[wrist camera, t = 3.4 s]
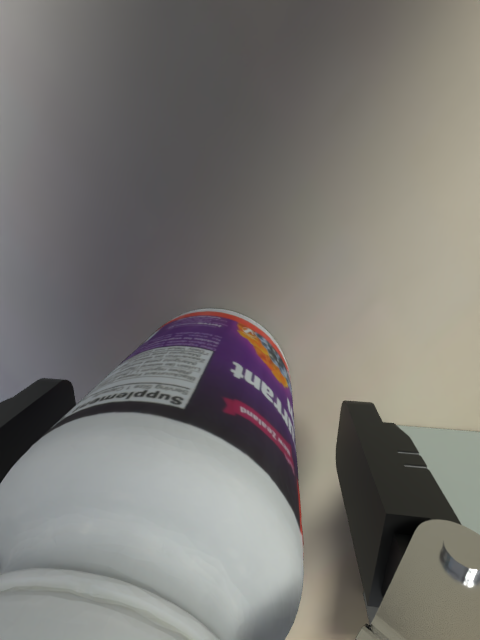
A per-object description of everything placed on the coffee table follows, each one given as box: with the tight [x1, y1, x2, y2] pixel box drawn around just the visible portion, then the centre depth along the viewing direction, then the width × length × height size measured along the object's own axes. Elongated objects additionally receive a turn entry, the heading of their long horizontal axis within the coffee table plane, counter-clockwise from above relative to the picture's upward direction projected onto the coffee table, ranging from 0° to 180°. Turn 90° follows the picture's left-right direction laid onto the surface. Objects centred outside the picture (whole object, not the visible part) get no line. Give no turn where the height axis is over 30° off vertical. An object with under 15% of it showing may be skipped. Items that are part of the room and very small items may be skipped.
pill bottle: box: [0, 308, 304, 640], centre depth 7 cm, size 5×5×10 cm
